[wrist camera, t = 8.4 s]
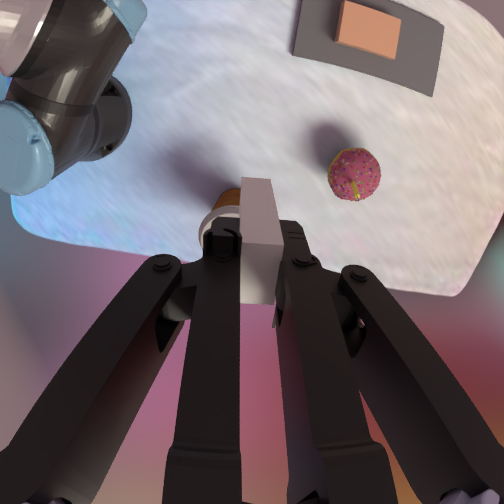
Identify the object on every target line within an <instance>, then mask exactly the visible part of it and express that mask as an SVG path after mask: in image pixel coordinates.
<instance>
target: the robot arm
mask: <svg viewBox="0 0 504 504" xmlns="http://www.w3.org/2000/svg"><path fill="white" fill-rule="evenodd" d="M146 17H147V8H146V6H145V4H144V3H143V1H142V0H0V71H1V73H2V75H3V76H6V77H13V78H12V81H11V84H10V87H9V89H8V92H7V95H6V98H5V100H2V101H0V189H2V190H3V191H5V192H7V193H9V194H11V195H16V196H23V195H27V194H30V193H32V192H34V191H36V190H37V189H39V188H43V187H45V186H46V185H47V184H48V183H49V182H50V181H51V180H52V179H54V178H55V177H56V176H58V175H59V174H61V173H62V172H64V171H65V170H66V169H68V168H69V167H71V166H72V165H74V164H75V163H77V162H78V161H95V160H99V159H101V158H104V157H105V156H107V155H109V154H110V153H112V152H113V151H115V150H116V149H117V148H118V147H119V146H120V145H121V144H122V142H123V141H124V140H125V138H126V136H127V134H128V132H129V129H130V126H131V121H132V106H131V101H130V98H129V95H128V93H127V91H126V89H125V88H124V86H123V85H122V84H121V83H120V82H119V81H118V80H117V79H115V78H114V77H112V76H111V75H112V73H113V71H114V70H115V68H116V66H117V65H118V63H119V61H120V59H121V58H122V56H123V54H124V53H125V51H126V50H127V48H128V46H129V45H130V44H132V43H133V42H134V40H135V36H136V34H137V32H138V31H139V29H140V28H141V26H142V24H143V23H144V21H145V19H146ZM275 296H276V309H275V314H274V319H273V324H272V328H275V324H276V334H277V345H278V355H279V365H280V375H281V387H282V398H283V410H284V421H285V432H286V445H287V456H288V469H289V482H288V487H287V504H398V500H397V495H396V490H395V485H394V481H393V476H392V472H391V467H390V463H389V459H388V455H387V452H386V450H385V448H384V447H383V446H382V444H380V443H378V442H375V441H373V440H372V438H371V436H370V433H369V429H368V425H367V421H366V417H365V413H364V409H363V405H362V401H361V397H360V393H359V390H360V392H361V394H362V396H363V398H364V400H365V401H366V403H367V405H368V407H369V409H370V411H371V412H372V414H373V416H374V418H375V420H376V422H377V423H378V425H379V427H380V429H381V431H382V433H383V435H384V437H385V438H386V440H387V442H388V444H389V446H390V448H391V449H392V451H393V453H394V455H395V457H396V459H397V461H398V463H399V465H400V467H401V469H402V471H403V472H404V474H405V476H406V478H407V480H408V482H409V484H410V486H411V488H412V489H413V491H414V493H415V494H416V496H417V498H418V499H419V500H420V501H421V503H422V504H504V448H503V446H501V445H500V444H499V443H498V441H497V440H496V438H495V436H494V435H493V433H492V432H491V430H490V428H489V427H488V425H487V424H486V422H485V421H484V419H483V417H482V416H481V415H480V413H479V411H478V410H477V408H476V407H475V405H474V404H473V402H472V401H471V399H470V398H469V397H468V395H467V394H466V392H465V391H464V389H463V388H462V386H460V384H459V382H458V381H457V379H456V378H455V377H454V375H453V374H452V373H451V371H450V370H449V368H448V367H447V365H446V364H445V363H444V361H443V360H442V359H441V357H440V356H439V355H438V353H437V352H436V351H435V349H434V348H433V347H432V345H431V344H430V343H429V341H428V340H427V339H426V338H425V336H424V335H423V334H422V332H421V331H420V330H419V328H418V327H417V326H416V325H415V323H414V322H413V321H412V320H411V318H410V317H409V316H408V315H407V314H406V312H405V311H404V310H403V308H402V307H401V306H400V305H399V304H398V302H397V301H396V300H395V299H394V297H393V296H392V295H391V294H390V293H389V291H388V290H387V289H386V288H385V287H384V285H383V284H382V283H381V282H380V281H379V279H378V278H377V277H376V276H375V275H374V274H373V273H372V272H371V271H370V270H369V269H367V268H365V267H363V266H359V265H348V266H345V267H344V268H343V269H342V271H341V273H337V272H333V271H330V270H327V269H324V268H322V266H321V263H320V261H319V260H318V258H317V257H315V256H314V255H312V254H311V252H310V249H309V246H308V243H307V240H306V237H305V234H304V231H303V228H302V226H301V225H300V224H299V223H298V222H296V221H289V220H279V218H278V213H277V208H276V203H275V199H274V194H273V189H272V185H271V180H270V179H261V178H248V177H242V181H241V193H240V206H239V218H236V217H221V216H217V217H216V218H215V219H214V220H213V221H212V223H211V228H210V229H208V230H206V231H205V232H204V234H203V257H202V258H201V259H199V260H197V261H195V262H191V263H186V264H181V262H180V260H179V259H178V258H177V257H175V256H173V255H169V254H159V255H155V256H152V257H150V258H148V259H147V260H146V261H145V262H144V263H143V264H142V265H141V266H140V267H139V269H138V270H137V271H136V272H135V273H134V275H133V276H132V277H131V278H130V279H129V280H128V282H127V283H126V284H125V285H124V286H123V288H122V289H121V290H120V291H119V292H118V294H117V295H116V296H115V297H114V299H113V300H112V301H111V302H110V304H109V305H108V306H107V307H106V309H105V310H104V311H103V312H102V313H101V315H100V316H99V317H98V319H97V320H96V321H95V322H94V324H93V325H92V326H91V328H90V329H89V330H88V331H87V333H86V334H85V335H84V336H83V338H82V339H81V340H80V342H79V343H78V344H77V346H76V347H75V348H74V350H73V351H72V353H71V354H70V355H69V356H68V358H67V359H66V361H65V362H64V363H63V365H62V366H61V367H60V369H59V370H58V371H57V373H56V374H55V376H54V377H53V379H52V380H51V382H50V383H49V384H48V386H47V387H46V388H45V390H44V391H43V393H42V394H41V396H40V397H39V399H38V400H37V402H36V403H35V405H34V406H33V408H32V409H31V411H30V412H29V414H28V415H27V417H26V418H25V420H24V421H23V423H22V425H21V426H20V428H19V429H18V431H17V432H16V434H15V436H14V437H13V439H12V440H11V442H10V444H9V445H8V446H7V447H6V448H5V449H3V450H2V451H1V452H0V504H91V503H92V501H93V499H94V498H95V496H96V494H97V492H98V491H99V489H100V487H101V485H102V483H103V481H104V478H105V476H106V475H107V473H108V470H109V468H110V466H111V464H112V462H113V460H114V458H115V456H116V454H117V452H118V450H119V448H120V446H121V444H122V442H123V440H124V438H125V436H126V434H127V432H128V430H129V428H130V426H131V424H132V422H133V421H134V419H135V417H136V415H137V413H138V411H139V409H140V407H141V405H142V403H143V401H144V399H145V397H146V395H147V393H148V391H149V389H150V388H151V386H152V384H153V382H154V380H155V378H156V376H157V374H158V372H159V370H160V368H161V367H162V364H163V363H164V361H165V359H166V357H167V355H168V353H169V351H170V349H171V348H172V346H173V344H174V342H175V340H176V338H177V336H178V335H179V333H180V331H181V329H182V327H183V325H184V322H185V320H188V319H191V323H190V329H189V336H188V342H187V348H186V354H185V360H184V367H183V374H182V380H181V387H180V395H179V402H178V409H177V417H176V425H175V433H174V441H173V444H172V446H171V447H170V448H169V452H168V455H167V461H166V469H165V477H164V487H163V497H162V504H250V503H247V502H242V481H241V480H242V476H241V474H242V472H241V453H240V443H239V442H240V441H239V440H240V438H239V437H240V436H239V434H240V432H239V431H240V428H239V427H240V426H239V425H240V424H239V422H240V418H239V416H240V415H239V414H240V413H239V412H240V410H239V405H240V403H239V402H240V400H239V398H240V397H239V396H240V394H239V393H240V387H239V386H240V381H239V380H240V378H239V377H240V303H249V304H269V305H274V300H275ZM361 319H362V321H363V322H364V324H365V326H364V325H363V324H362V323H361V322H360V320H361Z"/></svg>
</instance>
